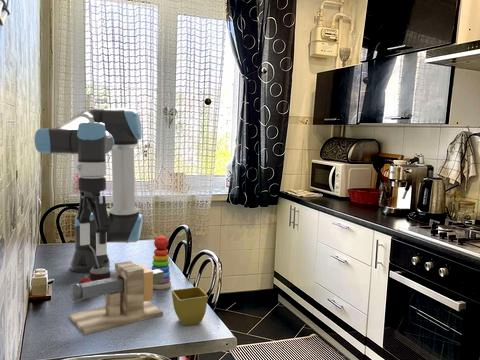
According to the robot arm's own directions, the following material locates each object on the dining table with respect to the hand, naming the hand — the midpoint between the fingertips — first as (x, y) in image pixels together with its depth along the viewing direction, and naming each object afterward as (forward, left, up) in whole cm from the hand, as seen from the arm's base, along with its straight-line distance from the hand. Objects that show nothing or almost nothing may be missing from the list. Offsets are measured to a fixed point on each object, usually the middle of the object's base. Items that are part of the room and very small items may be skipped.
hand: (92, 249), depth 129 cm
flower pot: (+16, +23, -22) cm, 36 cm away
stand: (0, +7, -22) cm, 23 cm away
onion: (-19, +4, -22) cm, 29 cm away
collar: (0, +15, -13) cm, 20 cm away
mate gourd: (-26, +11, -22) cm, 36 cm away
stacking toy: (-16, +30, -22) cm, 41 cm away
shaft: (0, +8, -14) cm, 16 cm away
